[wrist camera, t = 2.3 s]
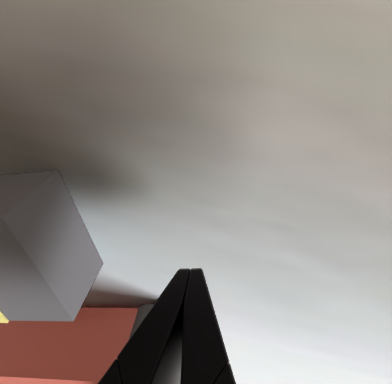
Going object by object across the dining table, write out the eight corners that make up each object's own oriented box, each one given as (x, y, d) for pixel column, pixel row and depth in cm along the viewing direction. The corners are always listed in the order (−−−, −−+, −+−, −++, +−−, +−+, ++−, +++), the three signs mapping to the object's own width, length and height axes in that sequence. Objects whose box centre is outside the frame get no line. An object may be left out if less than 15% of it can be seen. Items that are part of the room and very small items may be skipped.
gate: (-19, 320, 19) (-99, 415, 14) (-36, 303, 18) (-128, 400, 13) (179, 322, 16) (160, 438, 12) (173, 304, 15) (150, 422, 11)
